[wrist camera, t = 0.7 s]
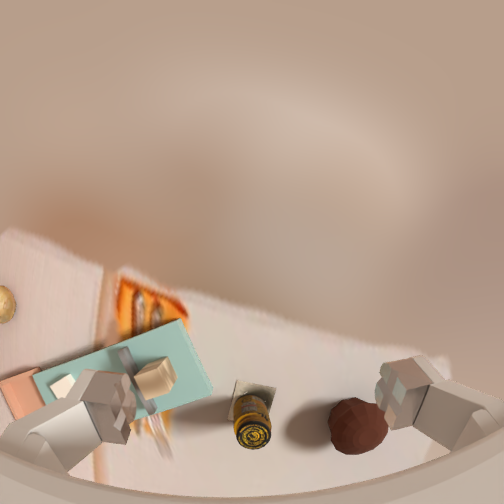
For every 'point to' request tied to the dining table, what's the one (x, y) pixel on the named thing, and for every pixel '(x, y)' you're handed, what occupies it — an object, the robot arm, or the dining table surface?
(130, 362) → the scraper
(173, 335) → the board
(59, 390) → the tile
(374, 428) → the muffin
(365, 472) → the dining table surface
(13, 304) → the tan oval lump
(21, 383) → the tray
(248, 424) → the condiment
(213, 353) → the dining table surface
